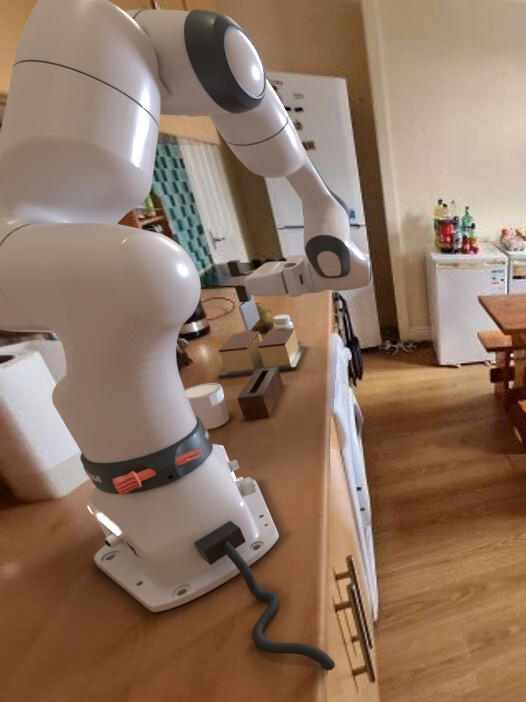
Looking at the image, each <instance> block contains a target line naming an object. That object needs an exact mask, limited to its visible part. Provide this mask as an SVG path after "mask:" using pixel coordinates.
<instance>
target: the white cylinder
mask: <svg viewBox="0 0 526 702" xmlns="http://www.w3.org/2000/svg"><path fill="white" fill-rule="evenodd" d="M185 392H186V394H187V397H188V400H189V402H190V405H191V407H192V410H193V412H194V415H195V416H197V417H199V418H200V420H201V422H202V424H203V425H204V426H205V427H206V429H207V430H212V429H216V428H218V427H221V426H223V425H224V424H227V422H228V421H229V420H230V414H229V410H228V407H227V402H226V398H225V395H224V389H223V386H222V385H221V384H220V383H216V382H207V383H206V382H205V383H200V384H197V385H194V386H191V387H188V388H185Z"/></svg>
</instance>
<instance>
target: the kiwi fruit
mask: <svg viewBox="0 0 526 702" xmlns="http://www.w3.org/2000/svg"><path fill="white" fill-rule="evenodd" d="M255 304H256V307H257V310H258V314H259V317H260V319H259V321H258V322H257V323H256V324H255V325H254V327H253V328H252V329H251V330H250V331H251V332H257V331H259V332H260V334H264V335H266V334H267V333H268V331H269V330H274V325H275V323H274V319H273V318H274V317H273V315H272V314H273V313H272V312H271V310H270V309H269V308H268V307H267V306H266V305H265V304H264V303H262V302H261V303H260V302H256V301H255Z"/></svg>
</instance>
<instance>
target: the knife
mask: <svg viewBox="0 0 526 702" xmlns="http://www.w3.org/2000/svg"><path fill="white" fill-rule="evenodd" d="M226 265H227V269H228V271H229V274H230V278H232V277H234V276H245V275H244V272H245V271H244V269H243V267H242V263H241V260H240V259H234V260H232V259H231V260H228V261H227V262H226ZM234 289H235V293H236V296H237V299H238V301H239V303H240V304H239V305H238V307H237V308H238V310H239V313H240V317H241V320H242V323H243V326H244V328H245V333H247V332H251V331H252V330H251V329H252V328H253V327H254V325H255V324H256V323H257V322H258V321H259V319H260V317H259V314H258V310H257V307H256V304H255V303H256V301H255V298H254V297H255V296H253V295H249V294H248V292H247V289H246V286H242V285H238V286H234Z"/></svg>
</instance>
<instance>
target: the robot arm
mask: <svg viewBox="0 0 526 702" xmlns="http://www.w3.org/2000/svg"><path fill="white" fill-rule="evenodd" d="M6 97H7V98H6V103H5V106H4V107H5V108H4V113H3V118H2V123H1V126H0V127H1V128H0V331H7V332H15V333H16V332H18V333H19V332H22V333H23V332H24V333H53V334H55V335H56V337H58V339H59V341H60V342H61V345H62V348H63V353H64V357H65V358H64V359H65V365H66V373H65V375H64V376H63V377H62V378H61V379H60V380H59V381H58V382H57V383H56V384H55V386H54V388H53V390H52V394H51V400H52V405H53V407H54V409H55V410H56V411H57V413H58V415H59V416H60V418H61V420H62V421H63V424H64V425H65V427H66V428H67V430H68V432H69V433H70V435H71V437H72V438H73V440H74V442H75V443H76V445H77V447H78V449H79V450H80V452H81V453H80V455H79V456H80V458H79V459H80V462H81V464H82V468H83V470H84V473H85V474H86V475H87V476H88V477H89V479H90V480H91V482H92V484H93V485H94V486H95V488H94V490H93V492H92V493H91V495H90V496H89V497H88V500H87V501H86V505H87V508H88V510H89V512H90V513H91V514H92V515H93V517H94V519H95V520H96V522H97V524H98V525H99V527H100V529H101V530H102V531H103V533H104V535H105V538H104V543H105V545H104V546H103V547H101V548H100V549H99V550H98V551H96V553H95V554H94V556H93V561H94V563H95V565H96V567H98V568H99V569H100V570H101V571H102V572H103V573H105V574H106V575H107V576H108V577H109V578H111V579H112V580H113V581H114V582H115V583H116V584H117V585H118V586H120V587H121V588H122V589H123V590H125V592H127V593H128V594H129V595H130V596H131V597H133V598H134V599H135V600H136V601H137V602H139V603H140V605H142V606H144V608H146V609H147V610H149V611H150V612H151V613H159V612H163V611H167V610H170V609H173V608H176V607H179V606H182V605H184V604H186V603H189V602H191V601H193V600H196V599H197V598H199V597H201V596H203V595H205V594H207V593H209V592H211V591H212V590H214V589H216V588H218V587H219V586H221V585H223V584H224V583H227V582H228V581H229V580H231V579H232V578H234V577H236V576H237V575H238V574H240V575H241V576H242V578H243V580H244V582H245V584H246V586H247V588H248V590H249V592H250V593H251V595H252V596H253V597H255V598H256V599H259V600H261V601H267V602H268V606H267V607H266V609H265V610H264V612H263V613H262V614H261V615H260V617H259V618H258V619H257V621H256V623H255V624H254V626H253V629H252V631H251V632H252V633H251V638H252V641H253V643H254V645H255V646H256V647H257V649H259V650H261V651H262V652H264V653H269V654H277V655H278V654H284V655H286V654H289V655H299V656H300V655H301V656H304V657H308V658H310V659H312V660H313V661H315V662H317V663H318V664H319V665H320V666H321V667H322V668H323V669H324V670H326V671H332V670H333V669H334V668H335V666H336V663H335V661H334V660H333V658H332V657H331V656H330V655H328V654H327V653H326V652H325V651H324V650H322V649H320V648H318V647H316V646H314V645H312V644H307V643H301V642H278V641H277V642H276V641H272V640H269V639H267V638H265V636H264V633H263V630H264V628H265V626H266V625H267V624H268V622H269V621H270V619H271V618H272V617H273V615H274V614H275V612H276V611H277V608H278V606H279V602H280V601H279V596H278V595H277V593H275V592H273V591H269V590H264V589H263V588H262V587H261V586H260V585H259V584H258V582H257V580H256V578H255V575H254V573H253V571H252V569H251V568H250V566H252V565H253V564H254V563H255V562H257V561H258V560H260V559H261V558H262V557H263V556H264V555H266V553H268V551H270V550H271V548H272V547H273V546H274V545H275V544H276V543H277V541H278V540H279V538H280V535H279V532H278V529H277V527H276V524H275V521H274V519H273V517H272V515H271V512H270V510H269V508H268V505H267V503H266V501H265V499H264V496H263V494H262V492H261V489H260V486H259V485H258V483H257V481H256V480H255V478H254V479H253V478H251V476H248V477H247V476H246V477H244V476H239V477H237V476H236V474H235V472H234V471H237V470H239V469H240V465H239V462H238V461H237V459H233V460H231V461H230V460H229V457H228V455H227V454H228V453H227V451H226V449H225V446H224V445H223V444H222V445H221V444H219V443H218V444H217V443H213V442H212V440H211V438H210V435H209V432H208V429H206V427H205V426H204V425H203V424H202V422H201V420H200V418H199V417H197V416H195V415H194V412H193V410H192V407H191V405H190V402H189V400H188V397H187V394H186V392H185V390H186V388H185V386H184V384H183V381H182V378H181V376H180V371H179V367H178V363H177V343H178V337H179V334H180V331H181V329H182V327H183V326H184V324H185V323H186V322H187V321H188V320H189V319H190V318H191V317H192V316H193V314H194V313H195V312H196V309H197V307H198V305H199V302H200V299H201V292H202V285H201V284H202V283H201V278H200V275H199V271H198V269H197V266H196V265H195V262H194V261H193V260H192V258H191V256H190V255H189V254H188V253H187V251H186V250H185V249H184V248H183V247H182V246H181V245H180V244H179V243H177V242H176V241H174V240H173V239H172V238H170V237H168V236H167V235H164V234H161V233H159V232H155V231H150V230H147V229H143V228H138V227H133V226H129V225H124V224H118V223H120V221H121V220H122V219H123V218H124V217H125V216H126V215H127V214H129V213H130V212H131V211H133V210H135V209H136V208H138V207H139V206H140V205H141V204H142V203H143V202H145V200H147V198H148V197H149V194H150V192H151V191H152V185H153V184H152V183H153V177H154V171H155V170H154V169H155V163H156V155H157V149H158V148H157V146H158V139H159V131H160V122H161V115H165V116H180V117H181V116H185V117H189V118H199V117H209V119H210V120H211V122H212V123H213V125H214V127H215V128H216V130H217V131H218V133H219V134H220V136H221V137H222V138H223V140H224V141H225V143H226V144H227V146H228V147H229V149H230V150H231V151H232V153H233V154H234V155H235V157H236V158H237V159H238V160H239V161H240V162H241V163H242V164H243V166H244V167H245V168H246V169H248V170H249V171H250V172H251V173H253V174H255V175H256V176H260V177H263V178H268V179H279V178H283V177H285V178H286V180H287V181H288V184H290V185H291V187H292V188H293V190H294V191H295V193H296V194H297V196H298V197H299V198H300V200H301V205H302V216H303V249H304V250H303V251H304V254H292V255H290V254H289V255H287V257H286V260H285V261H284V260H282V261H281V260H280V261H267V262H265V263H263V264H262V265H260V266H259V267H257V268H256V269H253V270H250V271H243V272H244V275H245V276H234V277H230V279H229V280H230V283H231V285H232V286H238V285H242V286H246V289H247V292H248V294H249V295H253V297H279V296H280V297H281V296H287V295H288V297H289V298H298V297H300V296H302V295H308V294H317V293H322V292H325V291H333V292H343V291H351V290H357V289H358V290H359V289H363V288H364V287H367V286H369V285H370V284H371V281H372V277H373V276H372V261H371V257H370V255H369V254H368V253H365V252H363V251H362V250H360V248H359V247H358V246H357V245H356V244H355V243H354V241H353V240H352V239H351V226H350V225H351V211H350V209H349V206H348V205H347V203H345V201H344V200H343V199H342V198H341V197H340V196H339V195H337V194H336V193H335V192H334V191H333V190H332V189H331V187H329V186H328V184H327V183H326V181H325V180H324V178H323V177H322V175H321V173H320V171H319V170H318V168H317V166H316V165H315V163H314V162H313V160H312V159H311V157H310V155H309V154H308V152H307V150H306V149H305V147H304V145H303V143H302V140H301V138H300V136H299V133H298V131H297V129H296V127H295V125H294V123H293V120H291V117H290V115H289V114H288V112H287V110H286V109H285V106H284V105H283V102H282V101H281V100H280V97H279V96H278V95H277V93H276V91H275V90H274V88H273V87H272V85H271V84H270V82H269V81H268V79H267V73H266V69H265V65H264V61H263V59H262V57H261V54H260V52H259V50H258V47H257V46H256V44H255V43H254V41H253V40H252V38H251V37H250V35H249V34H248V33H247V32H246V31H245V30H244V29H243V28H242V27H241V26H240V25H239V24H238V23H237V22H236V21H235V20H233V18H231V17H230V16H228V15H226V14H222V13H219V12H216V11H213V10H209V9H208V10H207V9H201V8H196V9H192V10H191V11H190V10H189V11H188V10H178V9H153V8H147V7H146V8H136V9H128V10H123V9H122V8H121V7H119V6H118V5H117V4H115V3H113V2H112V1H109V0H37V2H36V4H35V5H34V7H33V8H32V10H31V12H30V15H29V16H28V18H27V21H26V22H25V25H24V28H23V29H22V32H21V35H20V37H19V41H18V44H17V47H16V51H15V55H14V60H13V65H12V70H11V76H10V81H9V87H8V91H7V96H6Z"/></svg>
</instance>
